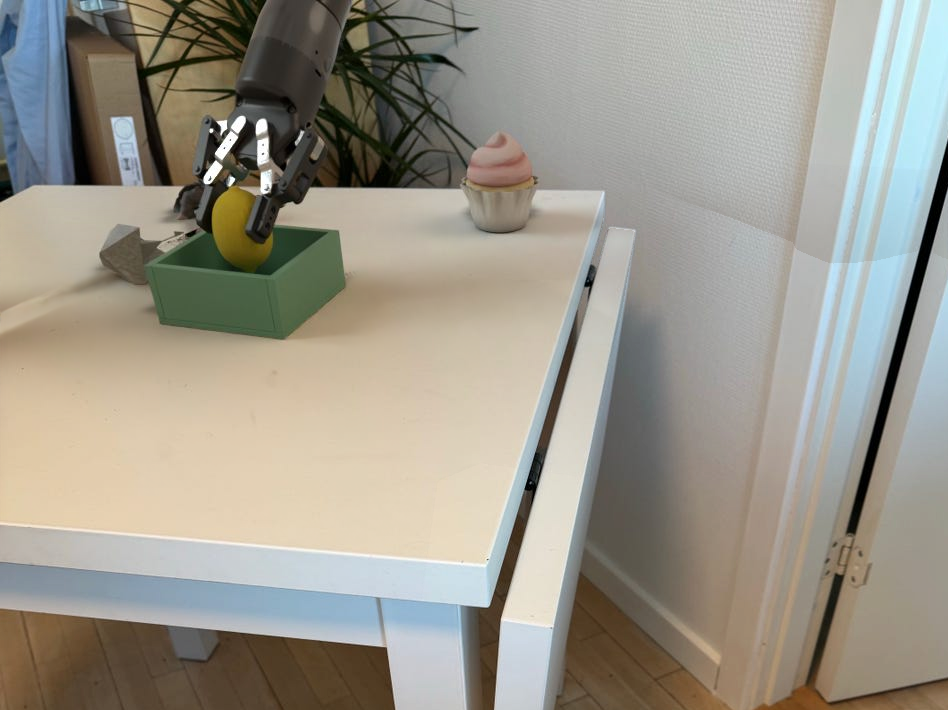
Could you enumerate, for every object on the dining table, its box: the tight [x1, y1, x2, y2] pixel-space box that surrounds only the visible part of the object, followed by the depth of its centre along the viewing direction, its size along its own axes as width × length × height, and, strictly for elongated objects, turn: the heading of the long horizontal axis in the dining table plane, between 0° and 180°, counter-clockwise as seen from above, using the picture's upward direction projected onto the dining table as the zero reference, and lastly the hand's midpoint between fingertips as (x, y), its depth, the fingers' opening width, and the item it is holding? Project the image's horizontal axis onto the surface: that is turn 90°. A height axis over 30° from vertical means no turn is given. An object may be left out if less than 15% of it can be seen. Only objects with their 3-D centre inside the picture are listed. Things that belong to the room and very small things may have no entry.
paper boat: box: [98, 223, 185, 286], centre depth 95 cm, size 12×6×9 cm
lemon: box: [212, 185, 273, 273], centre depth 86 cm, size 6×6×8 cm
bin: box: [145, 223, 347, 340], centre depth 89 cm, size 14×14×6 cm
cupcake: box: [459, 130, 541, 233], centre depth 104 cm, size 9×9×10 cm
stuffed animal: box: [173, 165, 258, 239], centre depth 110 cm, size 12×10×12 cm
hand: (229, 234), depth 85 cm, fingers closed on lemon, 5 cm apart
